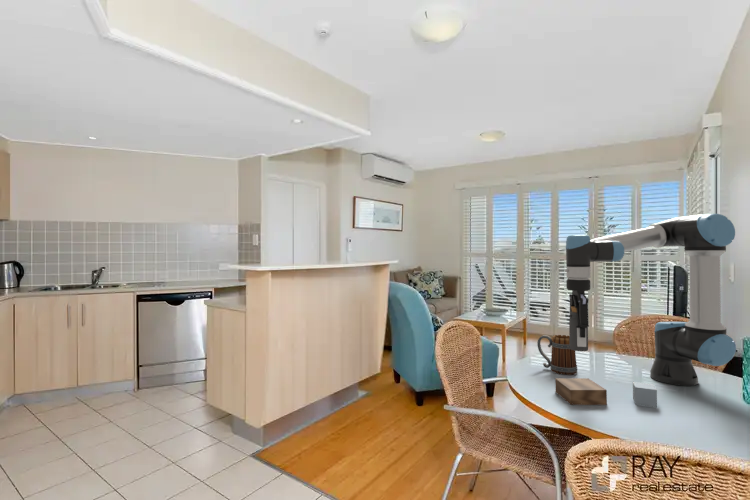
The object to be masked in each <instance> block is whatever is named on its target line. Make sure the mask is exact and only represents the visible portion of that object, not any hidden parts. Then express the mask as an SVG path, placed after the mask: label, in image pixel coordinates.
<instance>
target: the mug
mask: <svg viewBox="0 0 750 500" xmlns="http://www.w3.org/2000/svg"><path fill="white" fill-rule="evenodd" d="M543 339H546V340H548V342H549V343H548V344H547V347H548V348H551V357H548V356H547V355H546V354H545V353H544V351H543V348H542V345H541V341H542V340H543ZM536 345H537V350H538V352H539V353H540V355H541V356H542V357H543V358H544V360H545V361H546V362H547V363H546V362H543V363H542V365H543V367H544V368H546V369H548V368H550V370H551V372H552V373H555V374H557V375H563V376H573V375H576V374H577V373H578V365H577V356H576V355H577V354H576V351H575V350H571V349H570V340H569V335H567V334H555V335H553V336H552V337H551V336H549V335H548V334H543V335H541V336H540V337H539V338H538V339H537V343H536Z"/></svg>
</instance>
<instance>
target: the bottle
mask: <svg viewBox="0 0 750 500" xmlns="http://www.w3.org/2000/svg"><path fill="white" fill-rule="evenodd" d="M571 310H572V311H571V312H570V311H569V315H570V314H571V315H572V318H570V317H569V319H568V320H569V321H568V323H569V325H568V327H569V328H568V329H569V333H568V334H569V335H568V336H569V340H570V349H571V350H575V352H576V351H577V352H588V351H589V327H587V328H586V347H578V346H577V328H576V326H578V320H577V309H576V308H575V306H571ZM583 324H584V323H583Z"/></svg>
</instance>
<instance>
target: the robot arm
mask: <svg viewBox="0 0 750 500" xmlns="http://www.w3.org/2000/svg"><path fill="white" fill-rule="evenodd" d="M735 236H736V229H735V226H734V224H733V222H732V220H730V219H729V218H728V217H727V216H726V215H723V214H720V213H701V214H694V215H683V216H677V217H673V218H671V219H670V218H669V219H667V220H663V221H660V222H659V221H658V222H655V223H652V224H649V225H648V226H647V227H644V228H639V229H636V230H635V229H634V230H630V231H625V232H621V233H615V234H611V235H606V236H601V237H600V236H599V237H596V238H593V239H591V236H590V235H588V234H575V235H573V234H572V235H568V236H566V241H565V262H566V269H564V272H565V273H566V278H567V279H566V283H565V284H566V285H565V286H566V289H567V290H568V291H572V292H571V293H569V297H568V298H569V319H570V318H572V315H571V314H570V312H571V311H572V310H571V306H575V308H576V309H577V320H578V326H576V328H577V346H578V347H586V328H587V327H588V328H589V298H588V297H587V295H586V292H585V291H587V292H588V291H590V290H591V279H590V278H591V262H598V263H599V262H601V263H603V262H605V263H606V262H607V263H608V262H609V263H614V262H620V261H621V260H622V259H623V258H624V256H625V253H627V252H632V251H635V250H642V249H647V248H650V247H651V248H652V247H654V248H656V249H657V248H658V249H659V248H664V247H683V249H684V250H683V251H684V253H686V254H687V255H688V256H689V320H688V321H659V322H656V324H655V325H654V331H653V332H654V333H653V334H654V351H655V352H654V354H655V357H654V360H653V363H652V366H651V367H650V370H649V373H650V374H649V375H650V378H652V379H653V380H655V381H658V382H660V383H665V384H668V385H675V386H684V387H685V386H686V387H688V386H690V387H691V386H696V385H698V384H699V377H698V374H697V372H696V369H695V367H694V365H693V361H695V362H699V363H701V364H704V365H709V366H713V367H720V366H724V365H727V364H728V363H729V362H730V361H732V359H733V358H734V356H735V354H736V352H737V351H736V350H737V346H736V345H737V344H736V341H735V340H734V339H733V338H732V337H731V336H730V335H728V334H727V327H726V326H725V325H724V324H722V320H721V318H722V316H721V314H722V312H721V307H722V306H721V304H722V303H721V302H722V301H721V300H722V299H721V297H722V296H721V256H722V255H723V254H724V253H725V252H726V251H727V246H729V245H730V244H731V243H733V240H735ZM583 323H584V324H583Z"/></svg>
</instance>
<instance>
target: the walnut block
mask: <svg viewBox="0 0 750 500" xmlns="http://www.w3.org/2000/svg"><path fill="white" fill-rule="evenodd" d="M554 381H555V393H556V394H557V395H559V397H561V398H562V399H563V400H564V401H566V402H567V403H568V404H569V405H571V406H572V405H573V406H585V405H586V406H595V405H597V406H607V405H608V401H607V399H608V397H607V395H608V394H607V393H608V392H607V389H606V388H605V387H603V386H601V385H599V384H598V383H597V382H595V381H593V380H591V379H590V378H586V377H585V378H584V377H583V378H580V377H579V378H577V377H576V378H559V377H558V378H555V380H554Z"/></svg>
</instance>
